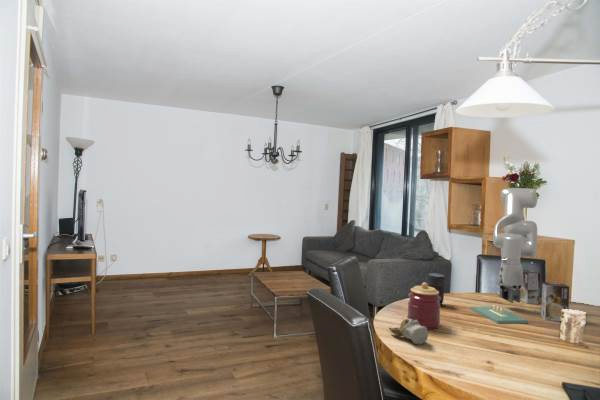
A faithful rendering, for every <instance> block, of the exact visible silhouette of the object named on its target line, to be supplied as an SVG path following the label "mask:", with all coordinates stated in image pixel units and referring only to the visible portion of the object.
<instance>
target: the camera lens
mask: <svg viewBox="0 0 600 400" xmlns="http://www.w3.org/2000/svg"><path fill="white" fill-rule="evenodd" d="M445 279H446V278H445V275H444V274H441V273H435V272H429V273H428V274H427V278H426V281H427V282H426V283H427V284H428V286H429V287H433V288H435V289H436V290H437V291H438V292H439V294H438V296H440V297H441V300H440V301H439V304H440V306H441V307H442V306H443V303H444V297H445V295H444V294H445V293H444V291H445V281H446V280H445Z"/></svg>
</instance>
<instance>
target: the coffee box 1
mask: <svg viewBox="0 0 600 400" xmlns="http://www.w3.org/2000/svg"><path fill="white" fill-rule="evenodd" d="M523 282H524V285H523V286H521V288H520V289H519V290H521V292H520V302H521V301H522V302H524V303H525V304H530V305H531V304H532V305H539V303H540V287H541V273H540V272H538V271H534V270H531V269H523Z"/></svg>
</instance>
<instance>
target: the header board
mask: <svg viewBox="0 0 600 400" xmlns="http://www.w3.org/2000/svg"><path fill="white" fill-rule="evenodd" d="M470 310H472V311H474V312H475V313H477V314H480V315H481V316H484V317H485V318H486V319H489V320H490V321H492V322H494V323H496V324H528V320H527V319H525V318H523V317H521V316H519V315H517V314H515V313H512V312H510V311H508V310H507V309H505V308H503V307H500V306H498V305H496V304H493V305H492V306H471V307H470Z"/></svg>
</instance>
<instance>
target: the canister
mask: <svg viewBox="0 0 600 400" xmlns="http://www.w3.org/2000/svg"><path fill="white" fill-rule="evenodd" d="M410 291H411V292H409V293H408V295H407V296H408V297H409V299H408V302H407V304H408V305H407V317H406V319H411V317H414V318H415V319H417V320H418V322H419V324H420V326H425V327H426V328H427V330H436V329H438V328H439V327H440V324H441V319H440V318H441V317H440V316H441V307H442V306H440V304H439V301H440V300H441V297H440V296H438V294H439V292H438V291H437V290H436V289H435V288H433V287H429V286H428V284H427V282H424V281H423V282H422V283H421V285H414V286H413V287H411V288H410Z"/></svg>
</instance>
